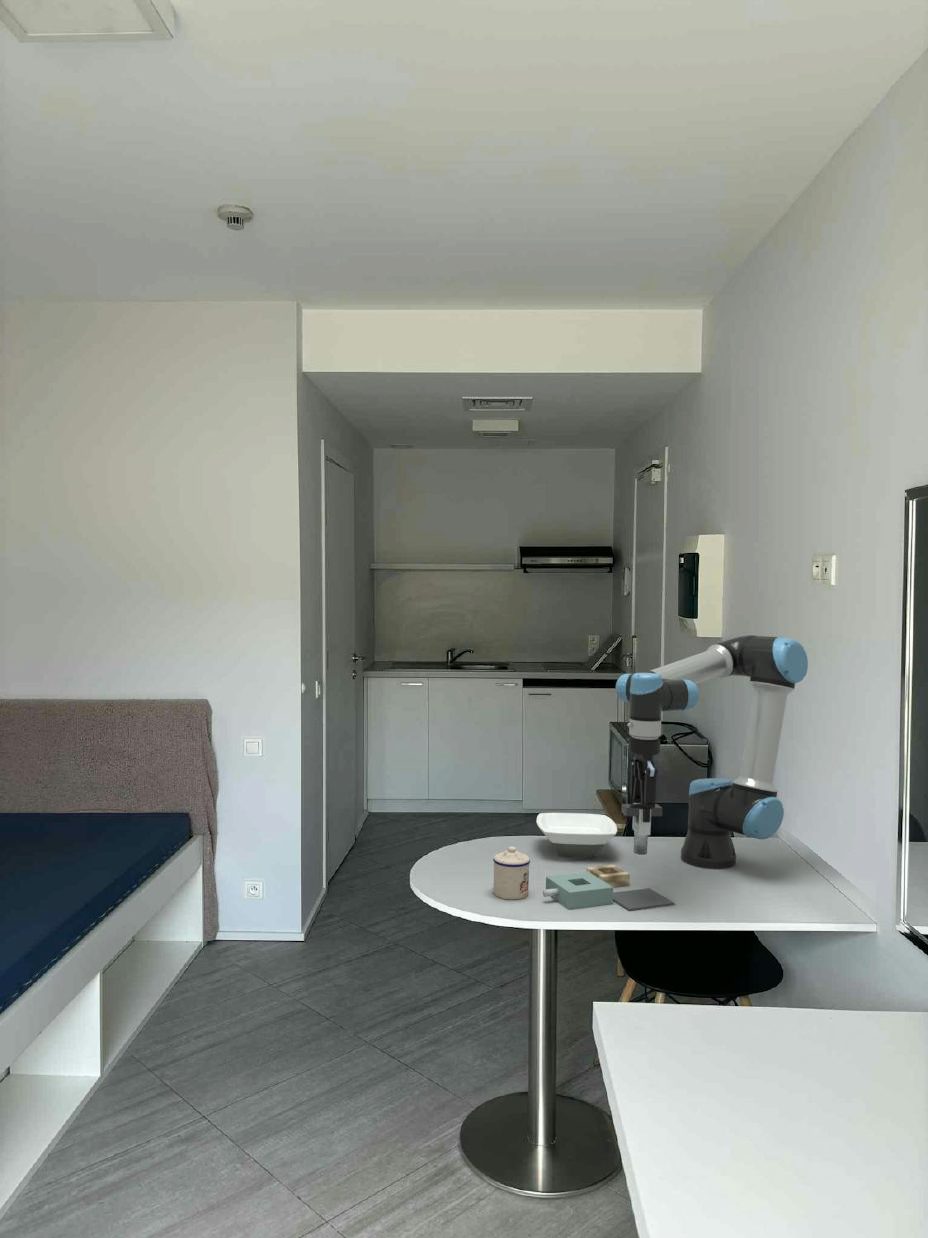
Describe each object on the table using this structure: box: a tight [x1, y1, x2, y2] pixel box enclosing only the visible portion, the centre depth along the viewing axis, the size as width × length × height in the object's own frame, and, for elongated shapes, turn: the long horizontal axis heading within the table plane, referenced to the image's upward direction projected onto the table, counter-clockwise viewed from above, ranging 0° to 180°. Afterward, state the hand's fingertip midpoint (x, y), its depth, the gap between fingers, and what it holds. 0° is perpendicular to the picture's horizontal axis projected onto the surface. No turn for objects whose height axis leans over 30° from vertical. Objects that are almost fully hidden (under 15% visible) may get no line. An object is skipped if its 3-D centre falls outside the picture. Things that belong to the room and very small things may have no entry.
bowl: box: [536, 812, 618, 858], centre depth 255 cm, size 22×23×8 cm
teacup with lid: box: [492, 846, 531, 901], centre depth 220 cm, size 12×9×12 cm
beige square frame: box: [586, 864, 631, 888], centre depth 230 cm, size 8×8×3 cm
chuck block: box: [542, 871, 614, 910], centre depth 217 cm, size 16×12×4 cm
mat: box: [613, 887, 676, 912], centre depth 217 cm, size 13×11×1 cm
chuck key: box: [620, 803, 663, 856], centre depth 216 cm, size 4×9×12 cm, turn 97°
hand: (641, 832), depth 216 cm, fingers closed on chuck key, 4 cm apart
